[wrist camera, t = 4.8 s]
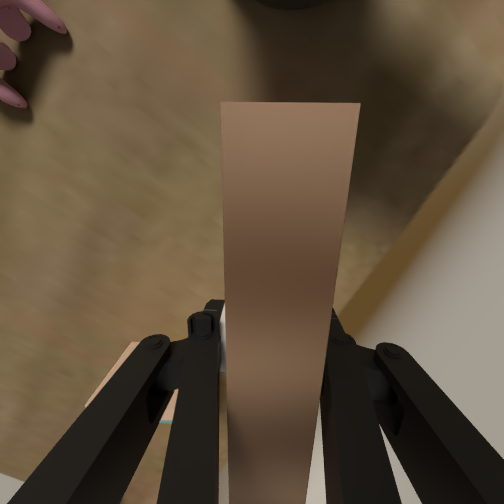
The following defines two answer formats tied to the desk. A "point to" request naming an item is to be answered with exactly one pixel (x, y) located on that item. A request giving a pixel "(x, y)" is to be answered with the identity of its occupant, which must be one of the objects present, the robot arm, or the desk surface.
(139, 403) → the robot arm
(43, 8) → the video game controller
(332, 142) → the wooden plank
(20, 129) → the desk surface
